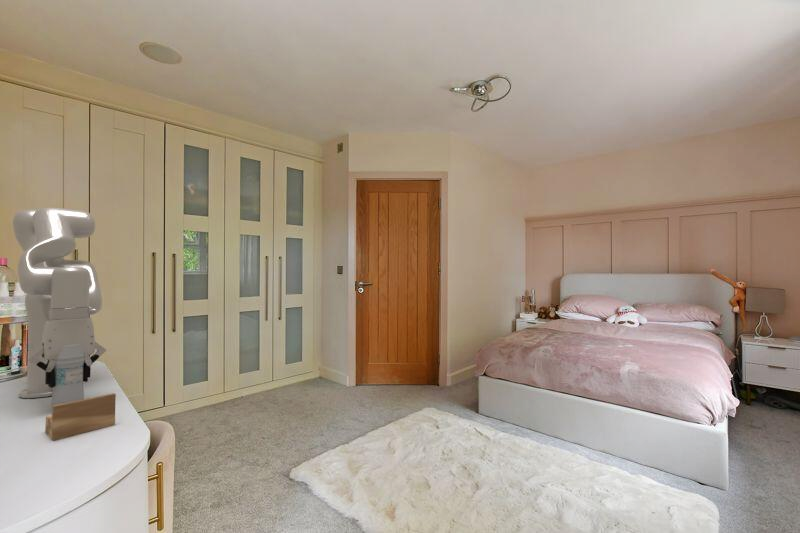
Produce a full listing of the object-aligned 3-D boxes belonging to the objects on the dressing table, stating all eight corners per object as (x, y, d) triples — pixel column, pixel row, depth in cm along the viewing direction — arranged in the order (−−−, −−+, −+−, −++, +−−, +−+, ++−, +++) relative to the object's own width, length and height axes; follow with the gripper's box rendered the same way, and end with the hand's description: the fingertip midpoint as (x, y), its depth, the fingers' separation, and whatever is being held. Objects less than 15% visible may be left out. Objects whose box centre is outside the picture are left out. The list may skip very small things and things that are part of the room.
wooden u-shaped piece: (45, 431, 81) (46, 399, 82) (104, 417, 90) (105, 388, 90) (52, 440, 77) (53, 406, 77) (114, 424, 85) (115, 394, 85)
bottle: (63, 413, 92) (66, 333, 93) (42, 412, 94) (45, 332, 94) (91, 404, 99) (93, 329, 99) (71, 403, 100) (73, 329, 101)
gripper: (106, 311, 106) (105, 374, 106) (21, 316, 92) (18, 389, 92) (114, 312, 102) (113, 378, 101) (26, 318, 88) (24, 394, 87)
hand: (68, 383), depth 96 cm, fingers closed on bottle, 5 cm apart
